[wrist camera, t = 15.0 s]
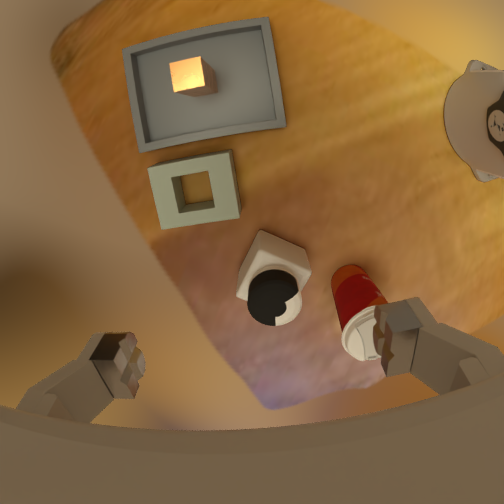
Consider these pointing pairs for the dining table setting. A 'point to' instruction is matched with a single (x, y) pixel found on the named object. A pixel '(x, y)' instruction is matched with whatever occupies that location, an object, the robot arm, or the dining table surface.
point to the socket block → (219, 209)
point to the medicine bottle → (273, 279)
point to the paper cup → (356, 310)
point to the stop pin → (193, 77)
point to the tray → (213, 105)
